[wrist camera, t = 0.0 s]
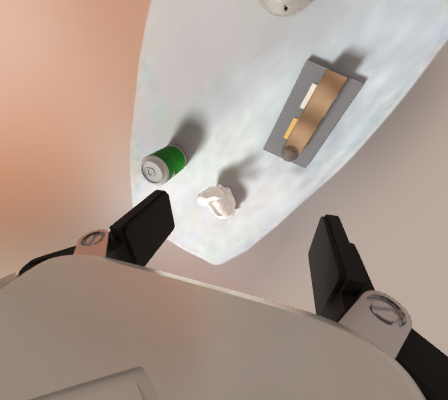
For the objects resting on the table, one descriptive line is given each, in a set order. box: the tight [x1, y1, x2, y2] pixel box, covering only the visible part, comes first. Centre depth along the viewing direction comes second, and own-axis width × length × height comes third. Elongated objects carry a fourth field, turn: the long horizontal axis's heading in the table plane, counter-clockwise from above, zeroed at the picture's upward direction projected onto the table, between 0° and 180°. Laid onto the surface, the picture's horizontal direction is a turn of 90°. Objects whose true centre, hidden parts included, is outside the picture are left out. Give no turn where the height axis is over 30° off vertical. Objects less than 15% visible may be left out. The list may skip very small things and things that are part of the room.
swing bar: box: [281, 70, 347, 162], centre depth 36 cm, size 17×4×2 cm, turn 160°
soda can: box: [140, 145, 186, 185], centre depth 48 cm, size 8×8×12 cm
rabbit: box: [197, 184, 236, 219], centre depth 50 cm, size 12×9×12 cm
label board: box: [264, 60, 364, 168], centre depth 38 cm, size 18×11×2 cm, turn 160°
